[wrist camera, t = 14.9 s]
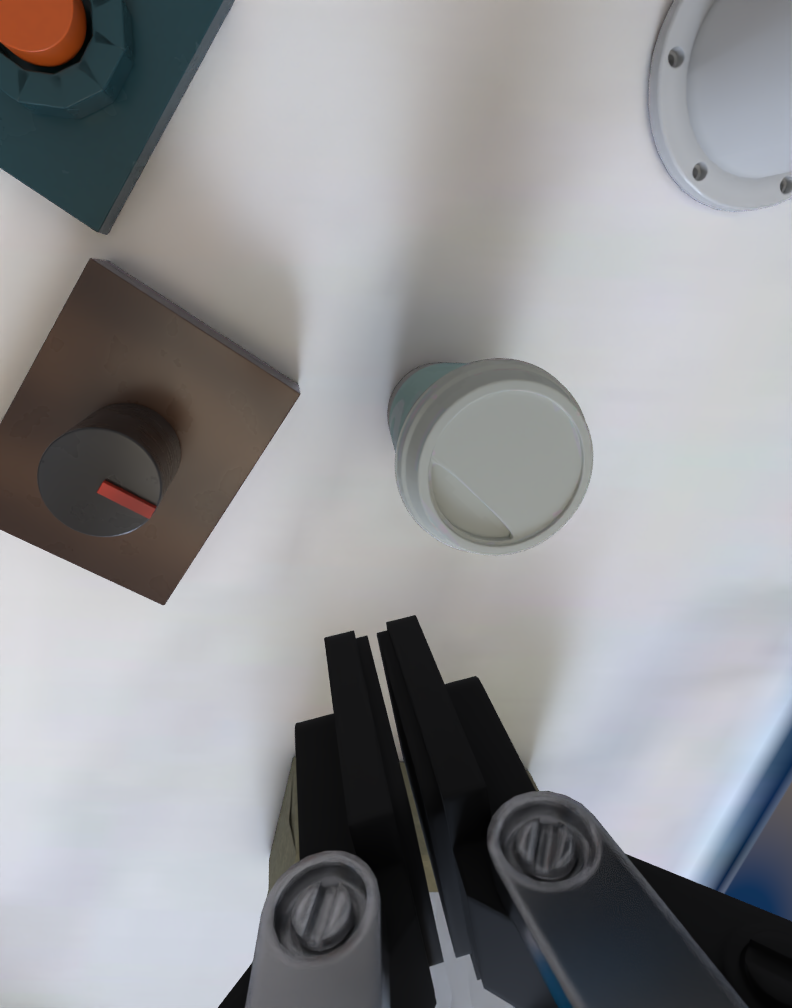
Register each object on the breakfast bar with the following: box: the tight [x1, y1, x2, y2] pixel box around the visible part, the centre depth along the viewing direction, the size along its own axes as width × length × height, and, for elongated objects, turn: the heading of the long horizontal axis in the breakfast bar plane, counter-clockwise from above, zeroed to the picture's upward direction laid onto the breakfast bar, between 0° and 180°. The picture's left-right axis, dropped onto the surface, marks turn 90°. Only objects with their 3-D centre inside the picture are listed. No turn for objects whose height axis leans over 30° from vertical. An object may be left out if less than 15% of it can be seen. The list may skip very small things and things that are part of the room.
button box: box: [0, 0, 235, 235], centre depth 25 cm, size 12×10×4 cm
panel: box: [0, 258, 300, 605], centre depth 31 cm, size 14×11×3 cm
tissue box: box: [267, 756, 539, 1008], centre depth 38 cm, size 19×10×16 cm, turn 75°
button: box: [0, 0, 87, 67], centre depth 23 cm, size 4×4×2 cm
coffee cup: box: [388, 358, 593, 556], centre depth 30 cm, size 9×9×12 cm
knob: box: [37, 403, 181, 537], centre depth 27 cm, size 5×5×6 cm
